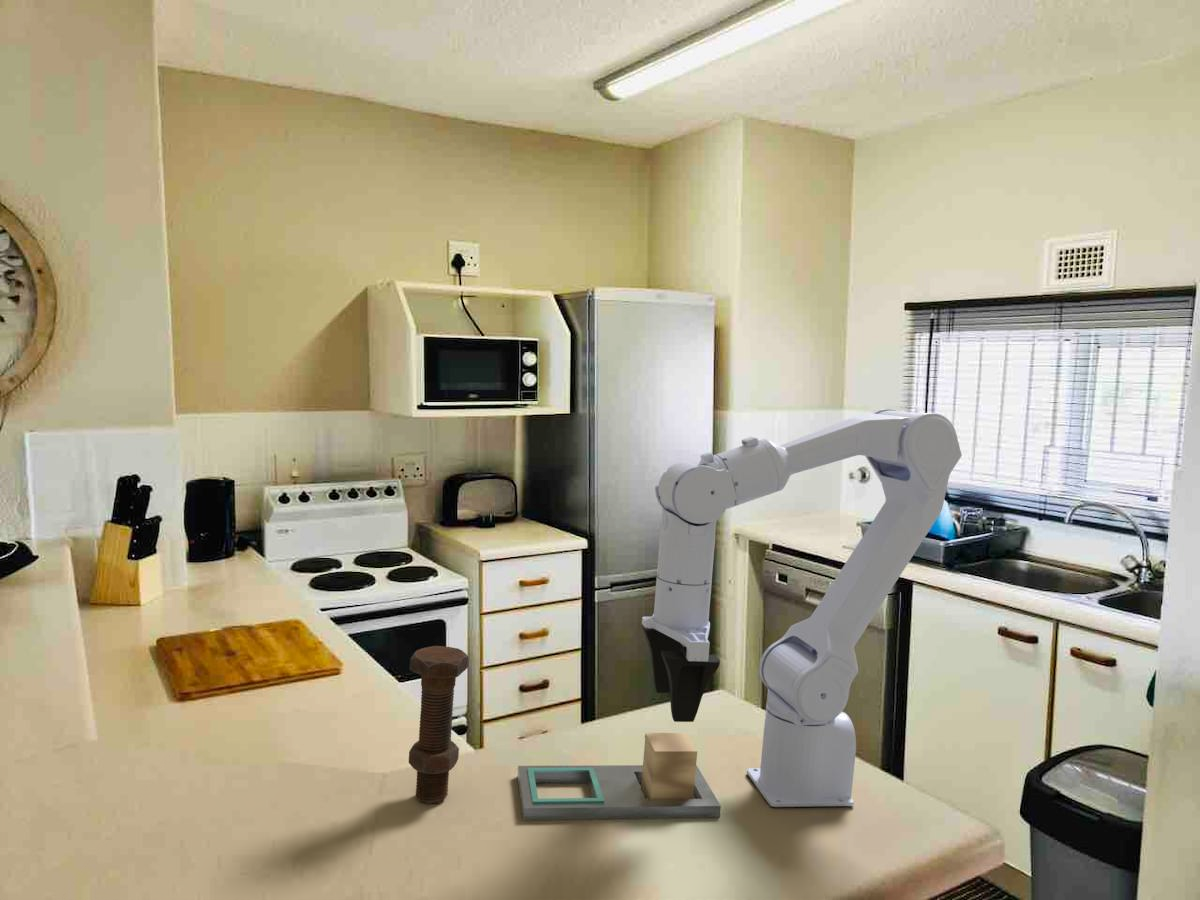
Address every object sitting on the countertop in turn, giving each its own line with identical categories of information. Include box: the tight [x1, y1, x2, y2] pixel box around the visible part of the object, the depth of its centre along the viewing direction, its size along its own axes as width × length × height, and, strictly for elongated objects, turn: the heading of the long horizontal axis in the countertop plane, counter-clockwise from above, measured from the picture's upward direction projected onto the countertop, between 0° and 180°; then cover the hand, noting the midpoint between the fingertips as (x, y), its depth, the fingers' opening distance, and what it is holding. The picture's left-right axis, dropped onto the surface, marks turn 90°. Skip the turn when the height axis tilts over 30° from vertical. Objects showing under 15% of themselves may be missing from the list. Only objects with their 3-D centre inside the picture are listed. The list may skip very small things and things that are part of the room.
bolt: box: [408, 645, 470, 804], centre depth 85 cm, size 6×5×15 cm
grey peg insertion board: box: [517, 764, 722, 821], centre depth 88 cm, size 20×9×1 cm, turn 99°
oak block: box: [640, 732, 698, 799], centre depth 89 cm, size 4×4×6 cm
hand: (673, 705), depth 88 cm, fingers open, 7 cm apart
